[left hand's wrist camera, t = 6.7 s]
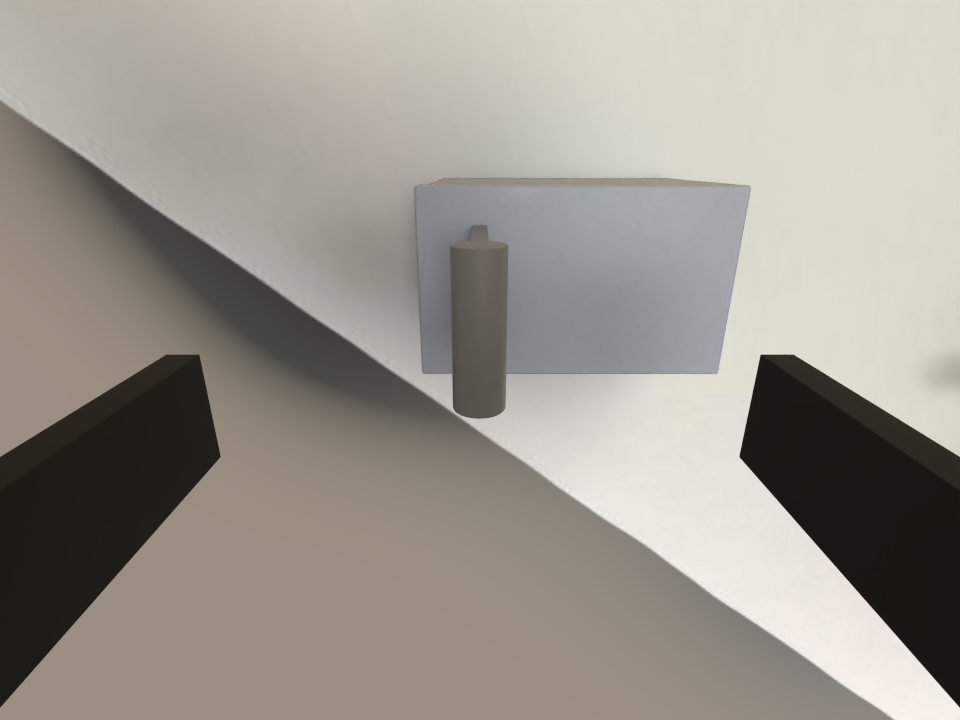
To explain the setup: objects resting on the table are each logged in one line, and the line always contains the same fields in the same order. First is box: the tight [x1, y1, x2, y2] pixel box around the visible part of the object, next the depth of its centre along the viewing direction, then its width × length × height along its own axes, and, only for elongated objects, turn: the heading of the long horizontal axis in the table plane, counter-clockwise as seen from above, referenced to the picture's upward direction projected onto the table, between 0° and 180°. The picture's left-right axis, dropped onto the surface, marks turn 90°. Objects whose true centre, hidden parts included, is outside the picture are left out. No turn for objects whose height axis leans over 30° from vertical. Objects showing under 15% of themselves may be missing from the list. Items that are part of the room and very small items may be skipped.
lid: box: [414, 185, 751, 418], centre depth 21 cm, size 15×9×9 cm, turn 90°
